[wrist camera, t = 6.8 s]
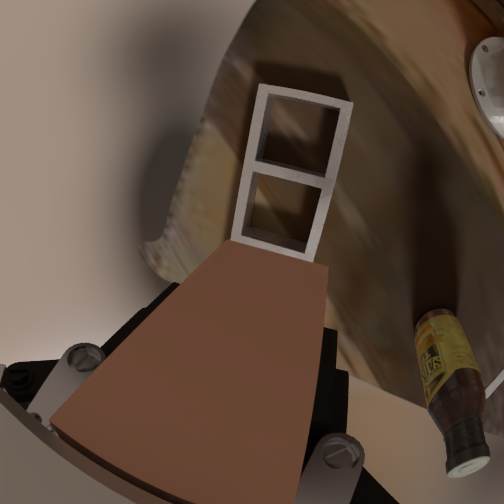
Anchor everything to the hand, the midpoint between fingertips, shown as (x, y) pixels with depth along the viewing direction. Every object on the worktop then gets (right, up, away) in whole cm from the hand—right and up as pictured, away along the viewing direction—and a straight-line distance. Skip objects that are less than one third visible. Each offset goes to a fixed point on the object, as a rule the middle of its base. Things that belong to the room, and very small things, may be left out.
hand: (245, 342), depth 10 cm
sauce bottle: (+23, -6, +20) cm, 31 cm away
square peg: (+1, +1, +3) cm, 3 cm away
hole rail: (+4, +8, +20) cm, 22 cm away
